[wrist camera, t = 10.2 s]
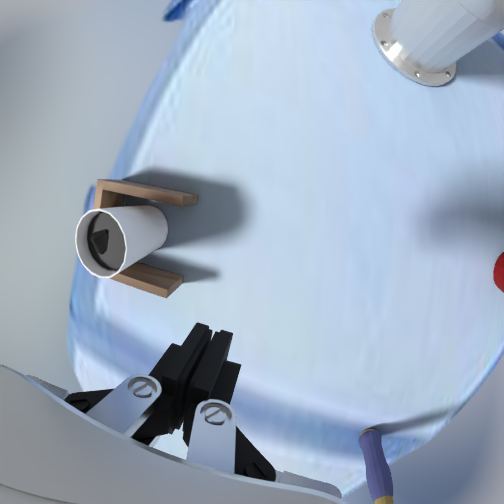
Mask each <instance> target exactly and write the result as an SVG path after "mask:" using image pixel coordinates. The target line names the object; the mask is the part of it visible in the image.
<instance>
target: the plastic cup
mask: <svg viewBox="0 0 504 504" xmlns="http://www.w3.org/2000/svg"><path fill="white" fill-rule="evenodd" d="M494 281H495V284H496V285H497V287H498V288H499V289H500V290H501V291H503V292H504V252H503V253H502V254H501V255H500V256H499V257H498V259H497V261H496V264H495V267H494Z"/></svg>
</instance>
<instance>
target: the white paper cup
mask: <svg viewBox="0 0 504 504" xmlns="http://www.w3.org/2000/svg"><path fill="white" fill-rule="evenodd" d="M167 234H168V225H167V220H166V218H165V216H164V214H163V213H162V212H161V211H160V210H159V209H158V208H156V207H153V206H150V205H143V206H127V207H113V208H100V209H94V210H89V211H88V212H87V213H86V214H85V215H83V216H82V217H81V219H80V221H79V223H78V226H77V228H76V236H75V243H76V249H77V254H78V256H79V258H80V260H81V262H82V264H83V265H84V267H85V268H86V269H87V270H88V271H89V272H90V273H91V274H93V275H95V276H97V277H99V278H111V277H113V276H114V275H116V274H118V273H119V272H121V271H122V270H124V269H126V268H127V267H129V266H130V265H132V264H133V263H135V262H137V261H138V260H140V259H142V258H143V257H145V256H146V255H148V254H150V253H151V252H153V251H155V250H156V249H158V248H160V247H161V246H162V245H163V244H164V242H165V241H166V238H167Z"/></svg>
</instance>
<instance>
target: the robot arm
mask: <svg viewBox="0 0 504 504" xmlns="http://www.w3.org/2000/svg"><path fill="white" fill-rule="evenodd" d="M503 29H504V0H401V1H400V3H399V5H398V6H397V8H396V9H387V10H385V11H382V12H381V13H380V14H379V15H378V16H377V17H376V19H375V21H374V23H373V29H372V32H373V38H374V40H375V43H376V45H377V47H378V49H379V51H380V52H381V54H382V55H383V56H384V58H385V59H386V60H387V61H388V62H389V63H390V64H391V65H392V66H393V67H394V68H395V69H396V70H397V71H399V72H400V73H401V74H403V75H404V76H406V77H407V78H409V79H411V80H413V81H415V82H417V83H420V84H423V85H427V86H440V85H443V84H445V83H447V82H449V81H450V80H451V79H452V78H453V76H454V74H455V72H456V61H457V60H459V59H460V58H462V57H463V56H465V55H466V54H468V53H469V52H470V51H472V50H473V49H475V48H476V47H478V46H479V45H481V44H482V43H484V42H485V41H487V40H488V39H490V38H491V37H493V36H494V35H496V34H497V33H499V32H500V31H502V30H503ZM232 336H233V333H231V332H228V331H224V330H221V331H220V332H215V334H214V336H213V338H212V340H211V337H212V330H210V329H209V326H207V325H204V324H201V323H198V322H197V323H196V325H195V326H194V328H193V329H192V331H191V332H190V334H189V335H188V337H187V338H186V340H185V341H184V343H183V344H182V346H179V345H177V344H174V343H172V344H171V345H170V346H169V348H168V349H167V350H166V352H165V353H164V355H163V356H162V357H161V359H160V360H159V361H158V363H157V364H156V366H155V367H154V368H153V370H152V371H151V372H150V374H149V375H144V374H135V375H132V376H130V377H128V378H127V379H126V380H124V381H123V382H122V383H121V384H120V385H119V386H117V387H116V388H115V389H107V390H98V391H88V392H77V393H72V394H69V393H68V391H67V390H65V389H62V388H60V387H57V386H55V385H52V384H50V383H48V382H45V381H43V380H41V379H39V378H37V377H34V376H31V375H24V374H22V373H20V372H18V371H16V370H14V369H12V368H9V367H7V366H4V365H0V504H350V503H349V502H347V501H345V500H343V499H342V494H341V492H340V490H339V489H338V488H337V487H336V486H334V485H331V484H329V483H324V482H321V481H317V480H313V479H309V478H306V477H303V476H299V475H296V474H293V473H290V472H287V471H284V472H283V473H282V472H280V471H277V470H275V469H274V468H273V466H272V465H271V464H270V463H269V462H268V461H267V460H266V459H265V457H264V456H263V455H262V454H261V453H260V452H259V451H258V450H257V449H256V448H255V447H254V446H253V445H252V443H251V442H250V441H249V440H248V439H247V438H246V437H245V436H244V434H243V433H242V432H241V431H240V430H239V429H238V428H237V426H236V412H235V411H234V409H233V408H232V407H231V406H230V402H231V399H232V395H233V392H234V388H235V385H236V382H237V378H238V375H239V371H240V368H241V364H237V363H234V362H230V361H227V356H228V352H229V348H230V344H231V340H232ZM183 421H184V422H183ZM182 423H183V432H184V433H183V440H184V442H185V443H186V445H187V446H188V453H187V459H186V460H184V459H181V458H178V457H176V456H173V455H170V454H167V453H165V452H162V451H160V450H157V449H155V448H153V447H154V445H155V444H156V443H157V442H158V440H159V438H160V435H164V434H168V433H169V434H172V433H173V431H174V429H178V430H179V429H180V427H181V425H182Z"/></svg>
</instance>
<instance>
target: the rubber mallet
mask: <svg viewBox="0 0 504 504" xmlns="http://www.w3.org/2000/svg"><path fill="white" fill-rule="evenodd" d="M358 441H359V445H360V448H361V449H362V451H363V455H364V459H365V464H366V478H367V483H368V487H369V491H370V494H371V497H372V500H373V501H374V502H375V504H394V503H393V499H392V496H393V484H392V477H391V472H390V469H389V466H388V464H387V462H386V460H385V457H384V453H383V449H382V445H381V434H380V433H379V432H378V431H376V430H375V429H367V430H365V431H363V432H362V433H361V435H360V438H359V440H358Z"/></svg>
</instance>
